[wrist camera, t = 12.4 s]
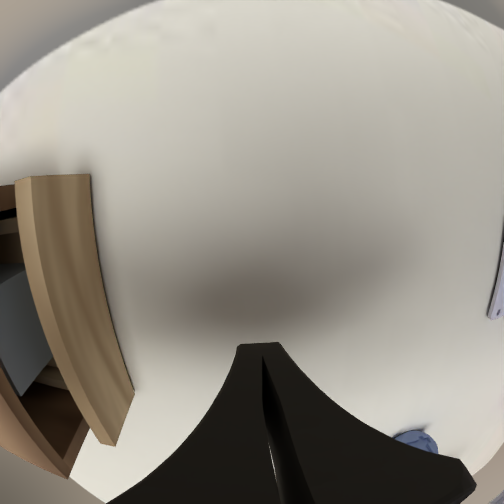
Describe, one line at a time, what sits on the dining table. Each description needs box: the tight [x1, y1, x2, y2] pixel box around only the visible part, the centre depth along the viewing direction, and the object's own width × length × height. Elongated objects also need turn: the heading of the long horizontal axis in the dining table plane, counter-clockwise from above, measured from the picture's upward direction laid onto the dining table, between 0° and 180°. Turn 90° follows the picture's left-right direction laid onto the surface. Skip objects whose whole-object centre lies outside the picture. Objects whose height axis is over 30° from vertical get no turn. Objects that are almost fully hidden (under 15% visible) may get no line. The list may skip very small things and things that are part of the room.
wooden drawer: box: [0, 174, 135, 446], centre depth 8 cm, size 11×11×4 cm
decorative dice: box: [394, 431, 438, 454], centre depth 14 cm, size 4×4×4 cm
